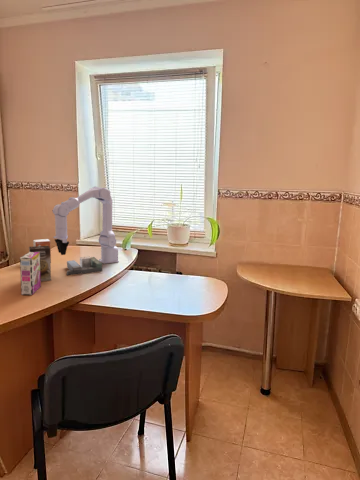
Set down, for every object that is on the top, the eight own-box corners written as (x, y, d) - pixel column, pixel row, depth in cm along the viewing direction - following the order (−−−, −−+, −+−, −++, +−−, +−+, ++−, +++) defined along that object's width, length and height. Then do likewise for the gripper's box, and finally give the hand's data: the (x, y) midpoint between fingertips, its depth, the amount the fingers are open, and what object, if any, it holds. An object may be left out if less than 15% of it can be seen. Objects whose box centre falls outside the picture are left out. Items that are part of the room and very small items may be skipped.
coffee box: (30, 282, 156) (29, 249, 153) (29, 278, 161) (28, 246, 158) (51, 280, 160) (50, 248, 157) (49, 276, 166) (48, 245, 162)
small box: (36, 264, 184) (35, 241, 181) (33, 262, 189) (32, 239, 187) (51, 263, 188) (50, 240, 186) (48, 260, 194) (48, 238, 191)
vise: (94, 264, 189) (94, 256, 188) (102, 271, 178) (102, 263, 177) (61, 268, 180) (61, 260, 179) (67, 275, 168) (67, 266, 167)
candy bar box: (33, 295, 141) (31, 258, 137) (21, 295, 140) (18, 257, 137) (41, 286, 152) (40, 251, 148) (30, 286, 151) (28, 251, 148)
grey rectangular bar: (74, 266, 184) (74, 260, 183) (81, 273, 172) (81, 266, 171) (67, 267, 182) (66, 261, 181) (73, 274, 170) (73, 267, 169)
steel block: (89, 266, 185) (88, 256, 184) (91, 268, 182) (91, 258, 180) (80, 267, 182) (79, 257, 181) (82, 269, 179) (81, 259, 178)
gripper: (50, 226, 175) (51, 251, 178) (56, 230, 163) (57, 257, 166) (64, 225, 178) (64, 249, 181) (70, 230, 166) (71, 256, 169)
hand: (62, 253), depth 174 cm, fingers open, 5 cm apart
